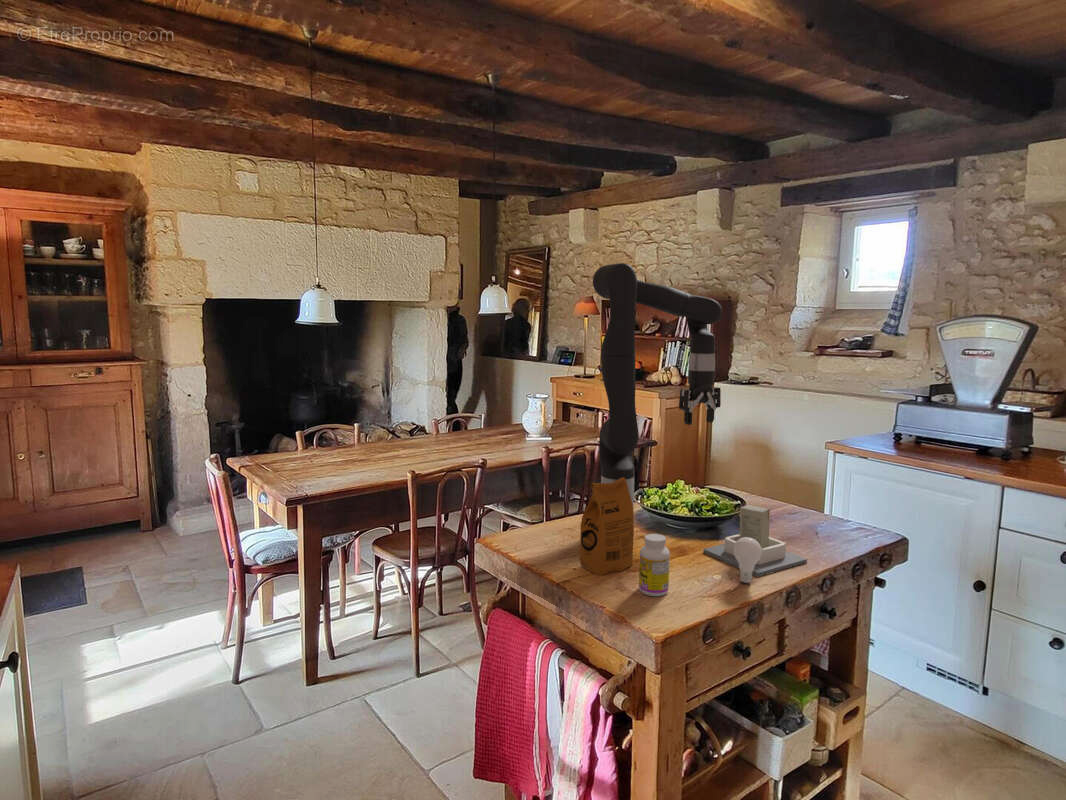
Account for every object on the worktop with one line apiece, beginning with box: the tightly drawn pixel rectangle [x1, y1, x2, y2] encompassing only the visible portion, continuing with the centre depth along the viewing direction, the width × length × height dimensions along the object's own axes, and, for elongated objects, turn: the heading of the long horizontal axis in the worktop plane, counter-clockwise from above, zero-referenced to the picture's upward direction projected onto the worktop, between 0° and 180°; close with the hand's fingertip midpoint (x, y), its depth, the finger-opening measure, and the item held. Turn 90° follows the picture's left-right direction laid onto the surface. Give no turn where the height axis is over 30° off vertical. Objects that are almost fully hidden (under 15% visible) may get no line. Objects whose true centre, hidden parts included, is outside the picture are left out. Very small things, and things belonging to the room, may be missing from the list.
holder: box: [703, 533, 808, 577], centre depth 169 cm, size 18×18×4 cm
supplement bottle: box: [638, 533, 671, 597], centre depth 148 cm, size 7×7×13 cm
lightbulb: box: [733, 537, 762, 584], centre depth 153 cm, size 6×6×11 cm
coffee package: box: [579, 477, 635, 576], centre depth 162 cm, size 10×12×22 cm
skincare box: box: [739, 504, 771, 549], centre depth 169 cm, size 6×4×12 cm
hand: (699, 423), depth 194 cm, fingers open, 8 cm apart
